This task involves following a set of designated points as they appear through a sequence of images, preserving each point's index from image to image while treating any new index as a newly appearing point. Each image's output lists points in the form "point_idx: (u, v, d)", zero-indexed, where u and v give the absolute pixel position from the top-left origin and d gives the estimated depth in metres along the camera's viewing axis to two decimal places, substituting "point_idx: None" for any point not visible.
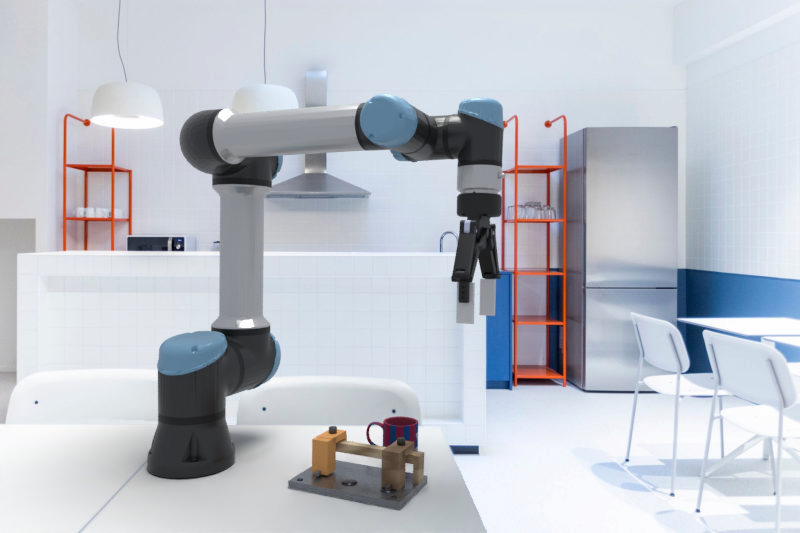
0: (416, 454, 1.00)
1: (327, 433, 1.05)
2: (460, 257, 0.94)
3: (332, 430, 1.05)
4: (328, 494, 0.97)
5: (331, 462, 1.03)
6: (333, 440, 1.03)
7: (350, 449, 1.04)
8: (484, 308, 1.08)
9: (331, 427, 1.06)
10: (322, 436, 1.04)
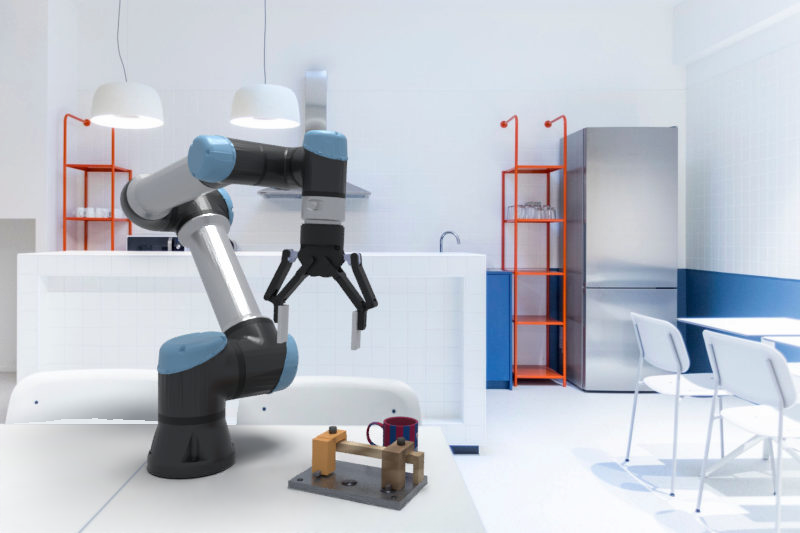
0: (416, 454, 1.00)
1: (327, 433, 1.05)
2: None
3: (332, 430, 1.05)
4: (328, 494, 0.97)
5: (331, 462, 1.03)
6: (333, 440, 1.03)
7: (350, 449, 1.04)
8: None
9: (331, 427, 1.06)
10: (322, 436, 1.04)
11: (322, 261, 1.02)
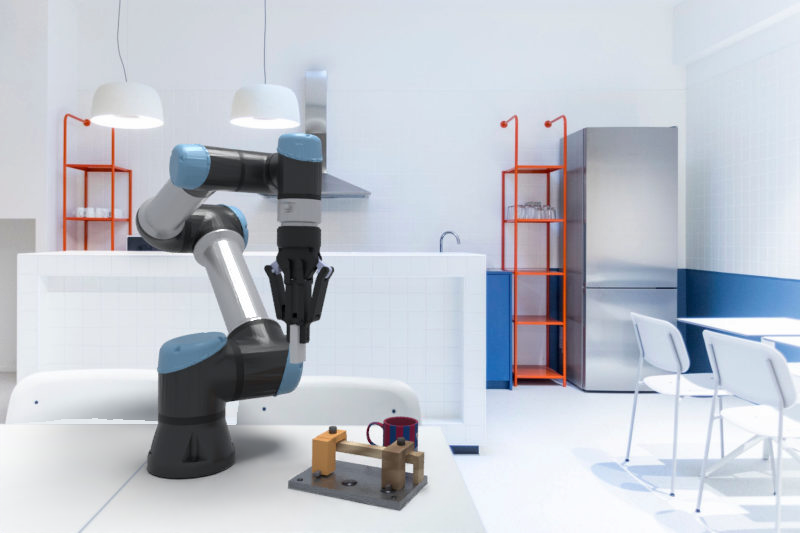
0: (416, 454, 1.00)
1: (327, 433, 1.05)
2: None
3: (332, 430, 1.05)
4: (328, 494, 0.97)
5: (331, 462, 1.03)
6: (333, 440, 1.03)
7: (350, 449, 1.04)
8: None
9: (331, 427, 1.06)
10: (322, 436, 1.04)
11: (297, 262, 1.02)
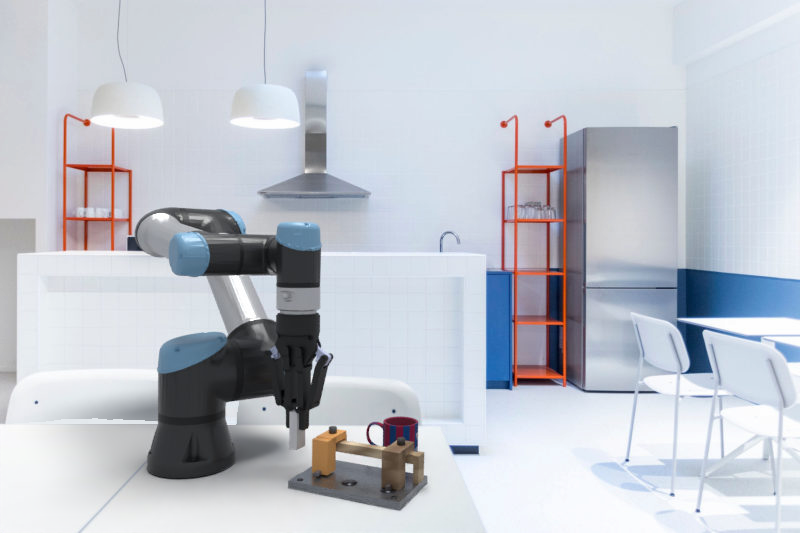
0: (416, 454, 1.00)
1: (327, 433, 1.05)
2: None
3: (332, 430, 1.05)
4: (328, 494, 0.97)
5: (331, 462, 1.03)
6: (333, 440, 1.03)
7: (350, 449, 1.04)
8: None
9: (331, 427, 1.06)
10: (322, 436, 1.04)
11: (296, 350, 1.02)
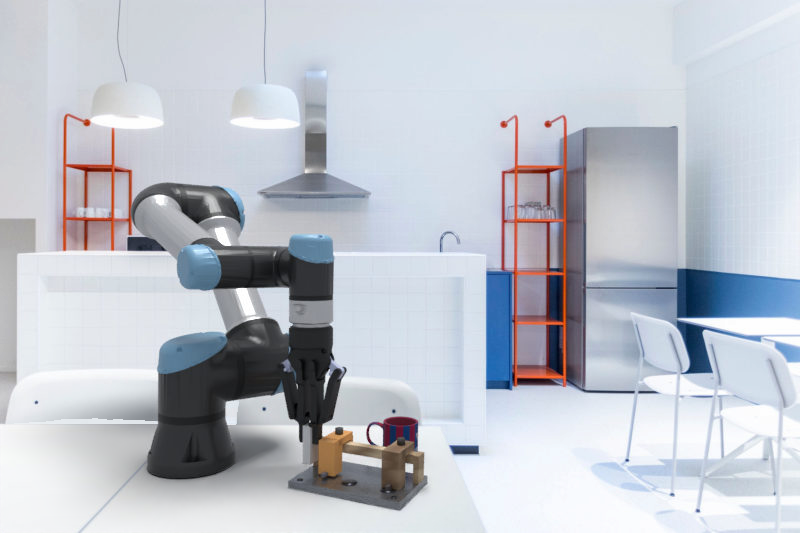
0: (416, 454, 1.00)
1: (333, 434, 1.05)
2: None
3: (338, 431, 1.05)
4: (328, 494, 0.97)
5: (337, 463, 1.02)
6: (339, 441, 1.02)
7: (350, 449, 1.04)
8: None
9: (337, 428, 1.05)
10: (329, 438, 1.03)
11: (309, 363, 1.01)
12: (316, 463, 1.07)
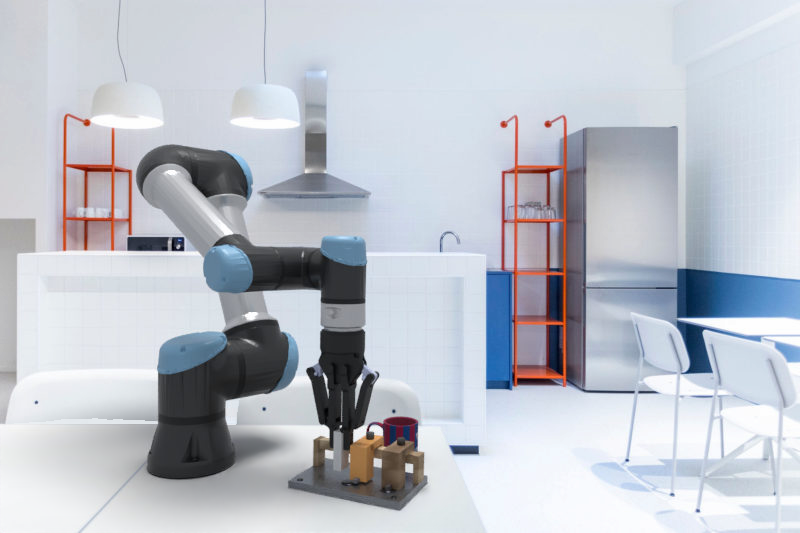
0: (416, 454, 1.00)
1: (364, 439, 1.03)
2: None
3: (369, 436, 1.02)
4: (328, 494, 0.97)
5: (369, 469, 1.00)
6: (371, 446, 1.00)
7: None
8: None
9: (368, 433, 1.03)
10: (360, 442, 1.01)
11: (341, 368, 0.99)
12: (316, 463, 1.07)
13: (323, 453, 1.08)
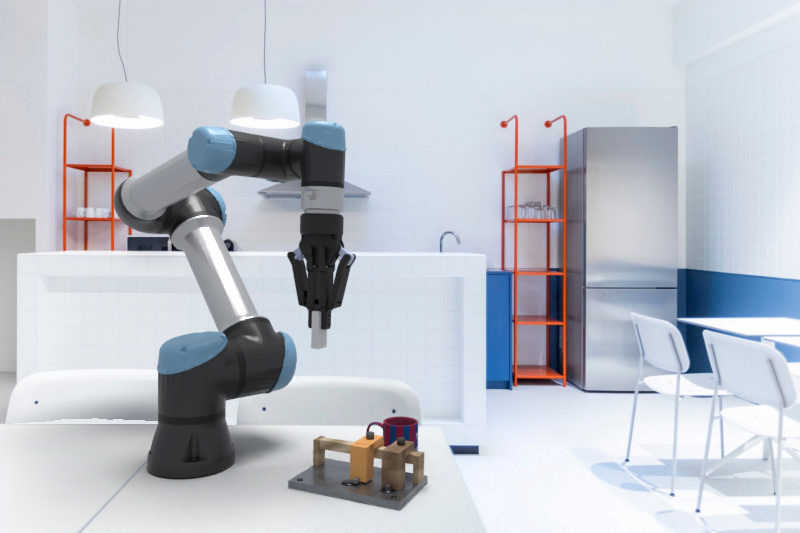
0: (416, 454, 1.00)
1: (364, 439, 1.03)
2: None
3: (370, 436, 1.02)
4: (328, 494, 0.97)
5: (369, 469, 1.00)
6: (371, 446, 1.00)
7: None
8: None
9: (368, 433, 1.03)
10: (360, 442, 1.01)
11: (319, 249, 1.03)
12: (316, 463, 1.07)
13: (323, 453, 1.08)
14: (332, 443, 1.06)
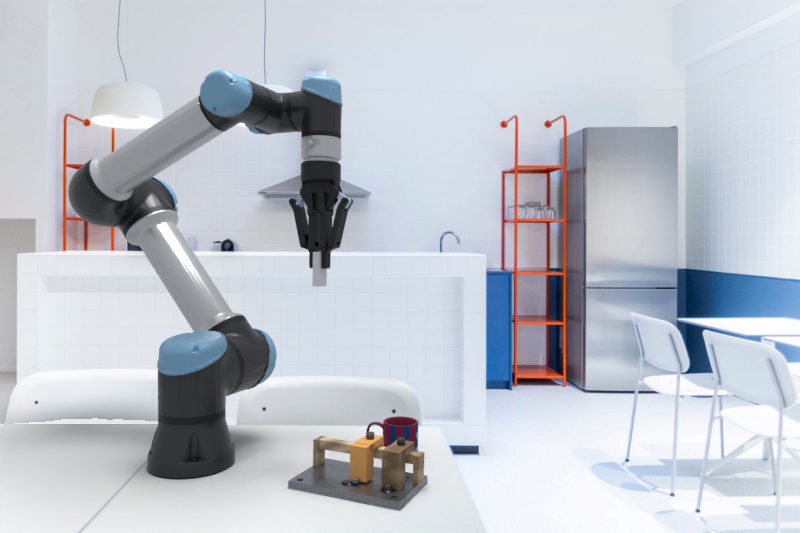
0: (416, 454, 1.00)
1: (364, 439, 1.03)
2: None
3: (370, 436, 1.02)
4: (328, 494, 0.97)
5: (369, 469, 1.00)
6: (371, 446, 1.00)
7: None
8: None
9: (368, 433, 1.03)
10: (360, 442, 1.01)
11: (319, 194, 1.12)
12: (316, 463, 1.07)
13: (323, 453, 1.08)
14: (332, 443, 1.06)
